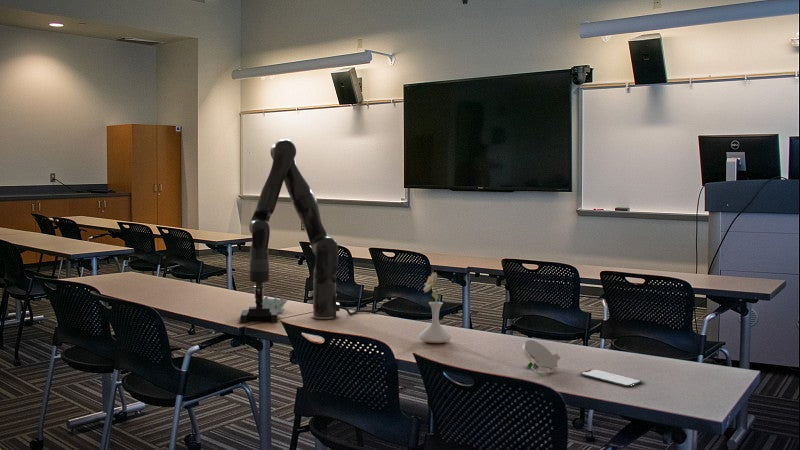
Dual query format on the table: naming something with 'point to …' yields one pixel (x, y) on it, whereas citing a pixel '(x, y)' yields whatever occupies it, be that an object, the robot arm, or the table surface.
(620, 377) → the smartphone
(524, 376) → the table surface
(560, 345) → the table surface
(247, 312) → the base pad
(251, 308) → the small black pad
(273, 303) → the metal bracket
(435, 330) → the flower in vase
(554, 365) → the tabbed white plastic disc
